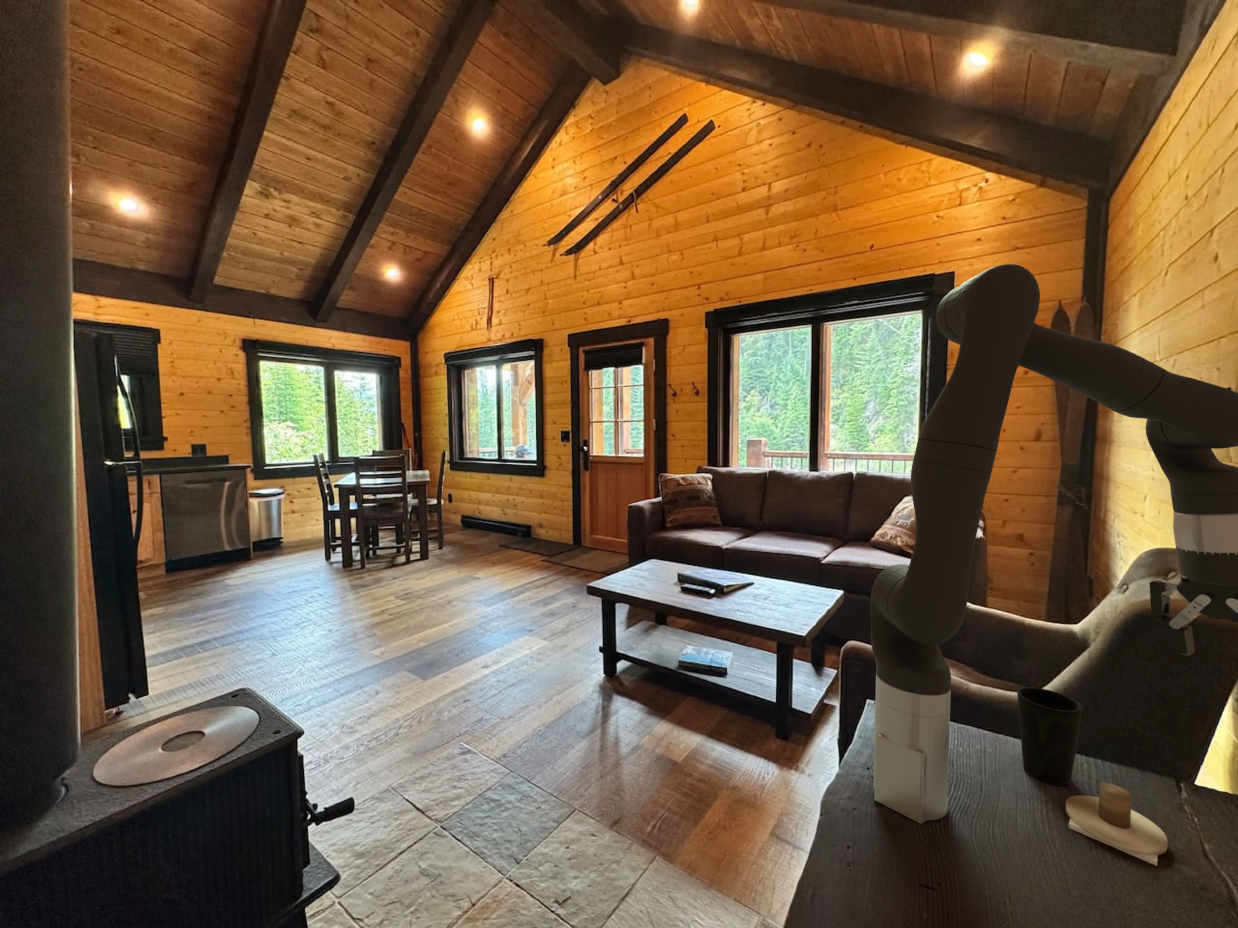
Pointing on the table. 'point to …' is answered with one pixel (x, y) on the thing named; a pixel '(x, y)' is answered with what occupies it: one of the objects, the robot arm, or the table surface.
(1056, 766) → the cup
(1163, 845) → the lid
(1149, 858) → the plate
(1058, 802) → the table surface
